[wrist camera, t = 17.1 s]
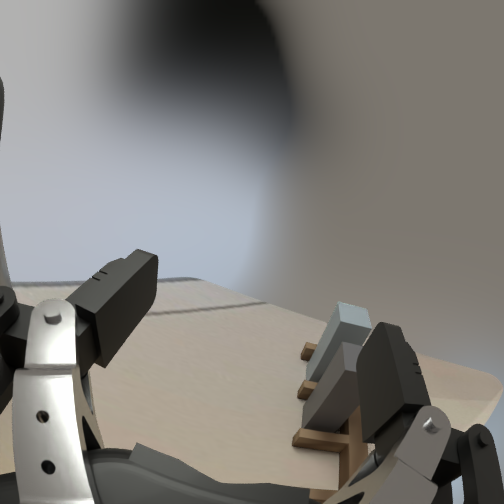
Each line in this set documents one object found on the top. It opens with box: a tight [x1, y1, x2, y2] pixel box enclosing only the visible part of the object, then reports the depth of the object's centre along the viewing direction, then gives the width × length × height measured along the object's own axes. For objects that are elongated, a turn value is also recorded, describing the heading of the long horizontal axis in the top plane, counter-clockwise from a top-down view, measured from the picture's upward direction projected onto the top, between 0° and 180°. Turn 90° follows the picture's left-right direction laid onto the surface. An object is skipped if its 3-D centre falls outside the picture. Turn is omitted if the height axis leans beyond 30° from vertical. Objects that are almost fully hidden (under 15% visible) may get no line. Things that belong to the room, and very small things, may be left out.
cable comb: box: [292, 342, 368, 504], centre depth 29 cm, size 8×24×2 cm, turn 169°
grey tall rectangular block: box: [301, 342, 363, 433], centre depth 27 cm, size 4×4×12 cm
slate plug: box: [306, 302, 372, 383], centre depth 34 cm, size 4×4×12 cm
